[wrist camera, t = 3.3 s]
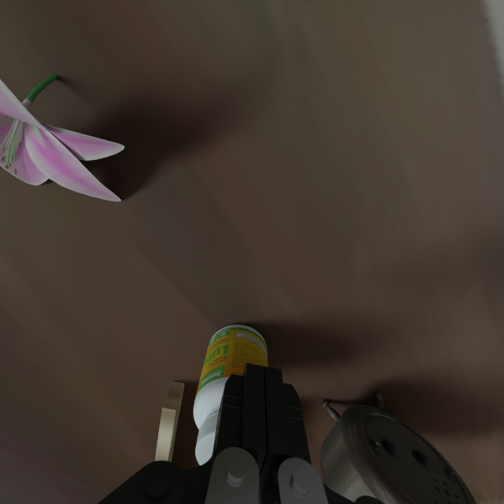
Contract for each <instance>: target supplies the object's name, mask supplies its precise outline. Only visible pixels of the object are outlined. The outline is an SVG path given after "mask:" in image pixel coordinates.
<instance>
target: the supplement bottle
mask: <svg viewBox="0 0 504 504" xmlns="http://www.w3.org/2000/svg"><path fill="white" fill-rule="evenodd" d="M246 363H251V364H256V365H262V366H267V367H268V356H267V346H266V343H265V340H264V338H263V337H262V336H261V334H260V333H258V332H257V331H256V330H254V329H253V328H251V327H248V326H245V325H229V326H226V327H224V328H222V329H220V330H219V331H217V332H216V333H215V334H214V335H213V337H212V338H211V340H210V343H209V346H208V350H207V354H206V358H205V362H204V366H203V369H202V374H201V378H200V382H199V386H198V390H197V394H196V398H195V403H194V409H193V414H194V420H195V423H196V425H197V427H198V429H199V434H198V439H197V444H196V451H195V453H196V458H197V461H198V463H199V464H200V466H201V465H203V464H204V463H206V462H207V461H208V460H209V459H210V458H211V457H212V452H213V446H214V439H215V433H216V426H217V419H218V413H219V408H220V403H221V399H222V395H223V391H224V386H225V382H226V381H227V380H228V378H229V377H230V375H231V374H237V375H243V371H244V367H245V364H246Z"/></svg>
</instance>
